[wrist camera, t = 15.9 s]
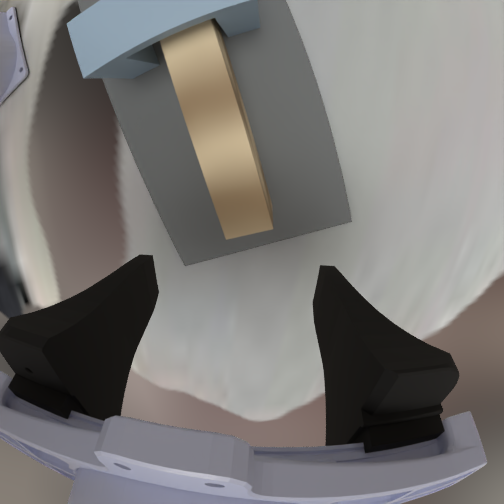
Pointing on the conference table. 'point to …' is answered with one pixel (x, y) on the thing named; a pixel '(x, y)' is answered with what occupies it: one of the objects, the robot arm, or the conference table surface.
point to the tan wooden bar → (219, 128)
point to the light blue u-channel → (146, 31)
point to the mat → (264, 133)
